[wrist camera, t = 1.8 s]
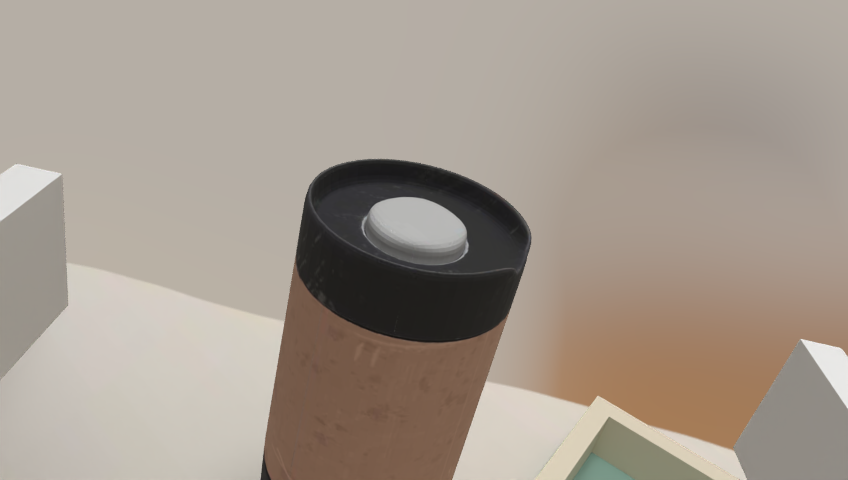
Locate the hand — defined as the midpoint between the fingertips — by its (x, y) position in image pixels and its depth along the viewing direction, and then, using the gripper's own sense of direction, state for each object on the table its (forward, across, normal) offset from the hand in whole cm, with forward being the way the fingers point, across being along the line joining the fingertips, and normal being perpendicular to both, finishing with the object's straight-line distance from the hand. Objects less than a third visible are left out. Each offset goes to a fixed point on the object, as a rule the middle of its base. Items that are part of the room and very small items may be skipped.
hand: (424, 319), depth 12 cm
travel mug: (+10, 0, -23) cm, 25 cm away
